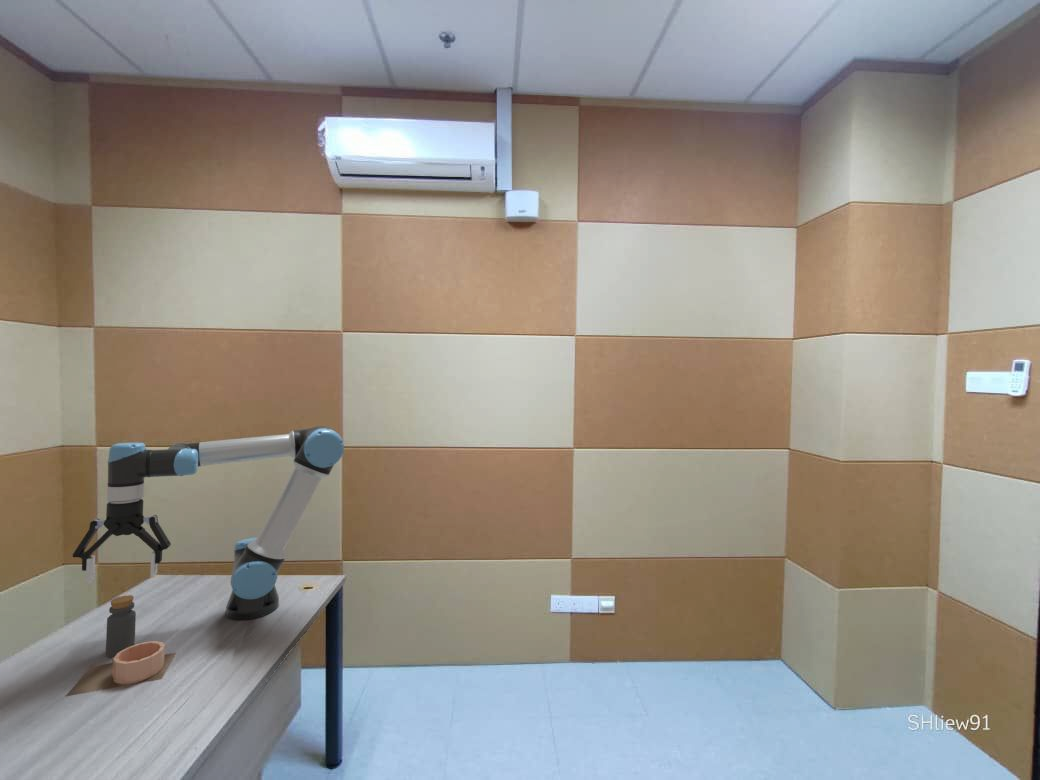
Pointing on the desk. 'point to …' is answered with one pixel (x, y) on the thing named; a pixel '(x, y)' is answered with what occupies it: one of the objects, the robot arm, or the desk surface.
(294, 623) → the desk surface
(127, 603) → the bottle
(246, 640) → the desk surface
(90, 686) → the board
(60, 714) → the desk surface
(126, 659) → the terracotta bowl
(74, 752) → the desk surface
